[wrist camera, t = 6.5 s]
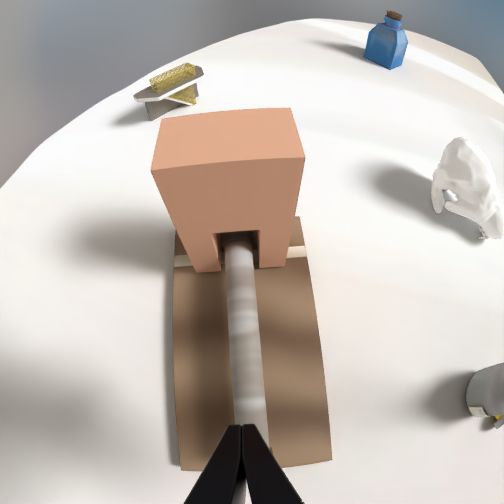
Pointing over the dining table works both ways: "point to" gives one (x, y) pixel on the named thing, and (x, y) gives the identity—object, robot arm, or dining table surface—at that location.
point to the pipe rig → (248, 353)
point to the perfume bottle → (387, 42)
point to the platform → (171, 90)
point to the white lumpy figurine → (469, 187)
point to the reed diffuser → (487, 393)
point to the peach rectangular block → (230, 180)
